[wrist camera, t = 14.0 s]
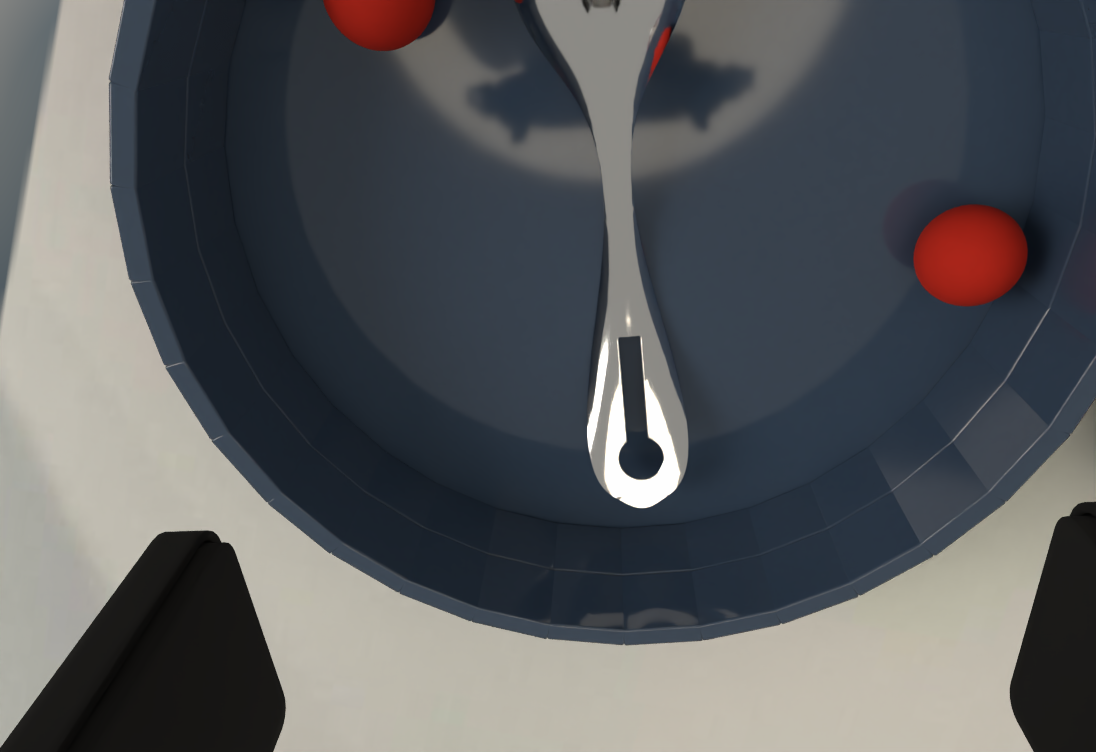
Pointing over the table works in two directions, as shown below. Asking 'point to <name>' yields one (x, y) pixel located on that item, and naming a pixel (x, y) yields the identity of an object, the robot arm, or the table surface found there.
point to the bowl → (573, 285)
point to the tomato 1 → (380, 21)
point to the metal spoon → (619, 226)
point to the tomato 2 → (970, 255)
